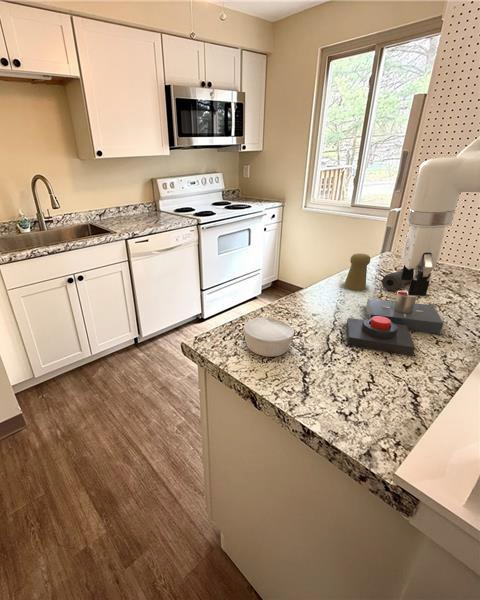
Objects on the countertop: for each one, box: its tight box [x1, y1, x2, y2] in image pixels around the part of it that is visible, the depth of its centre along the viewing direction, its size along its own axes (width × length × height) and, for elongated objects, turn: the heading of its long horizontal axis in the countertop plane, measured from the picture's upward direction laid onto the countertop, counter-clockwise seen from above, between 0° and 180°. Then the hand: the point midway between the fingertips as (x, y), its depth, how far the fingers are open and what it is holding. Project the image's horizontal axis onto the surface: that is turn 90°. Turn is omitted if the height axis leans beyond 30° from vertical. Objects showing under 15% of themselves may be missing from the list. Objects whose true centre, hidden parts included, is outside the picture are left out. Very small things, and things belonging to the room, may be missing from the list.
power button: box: [370, 316, 391, 329], centre depth 72 cm, size 4×4×2 cm
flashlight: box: [381, 266, 423, 291], centre depth 98 cm, size 15×5×5 cm, turn 116°
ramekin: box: [242, 316, 295, 358], centre depth 75 cm, size 11×11×5 cm
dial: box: [393, 290, 418, 313], centre depth 78 cm, size 4×4×5 cm
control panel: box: [365, 298, 444, 335], centre depth 80 cm, size 14×10×3 cm
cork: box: [343, 253, 371, 292], centre depth 98 cm, size 6×6×11 cm
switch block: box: [345, 317, 416, 356], centre depth 73 cm, size 12×10×4 cm
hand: (412, 287), depth 77 cm, fingers open, 9 cm apart
